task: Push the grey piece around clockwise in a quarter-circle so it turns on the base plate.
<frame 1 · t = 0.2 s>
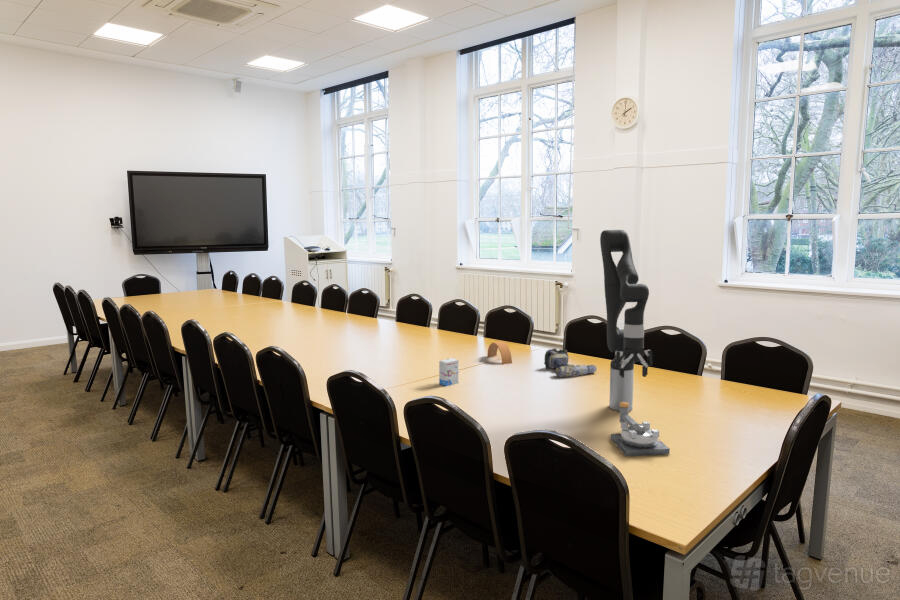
hand: (633, 376, 224), 17 cm above the table, tool pointing down, fingers open, 8 cm apart
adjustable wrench: (569, 463, 190), on the table
grey piece: (633, 423, 205), point 6 cm above the table, hinge at 0.0°
arch: (499, 360, 326), on the table
power drill: (565, 373, 298), on the table
ink box: (449, 384, 280), on the table
base plate: (638, 446, 201), on the table
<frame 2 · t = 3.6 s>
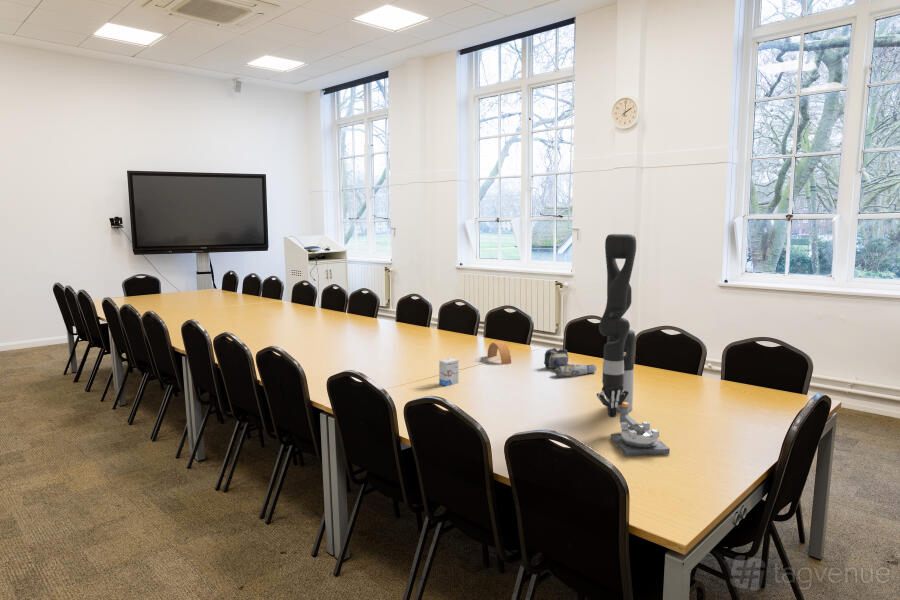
hand: (612, 416, 214), 6 cm above the table, tool pointing down, fingers closed
grey piece: (633, 423, 205), point 6 cm above the table, hinge at 0.1°, touching hand
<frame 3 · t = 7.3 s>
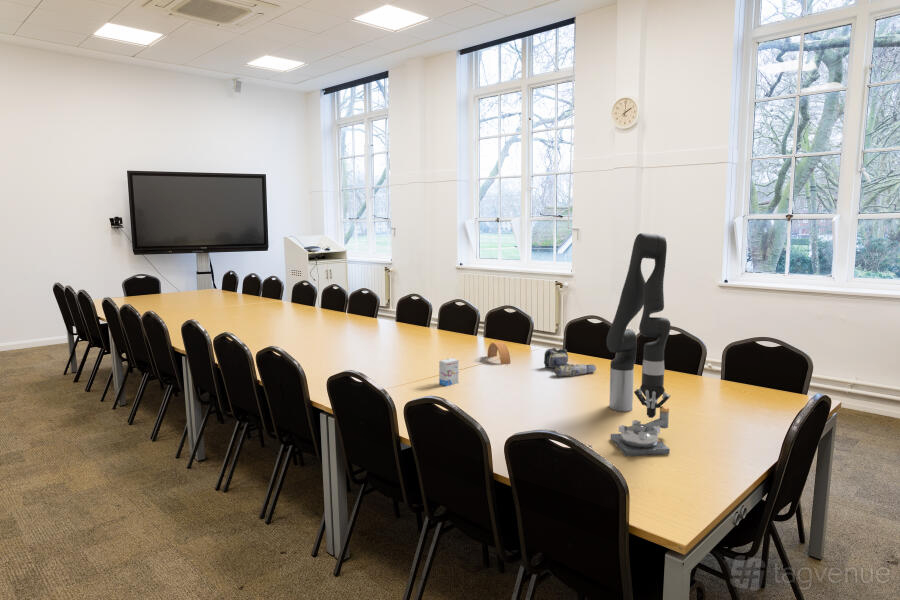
hand: (651, 417, 212), 6 cm above the table, tool pointing down, fingers closed
grey piece: (648, 425, 203), point 6 cm above the table, hinge at 55.6°, touching hand
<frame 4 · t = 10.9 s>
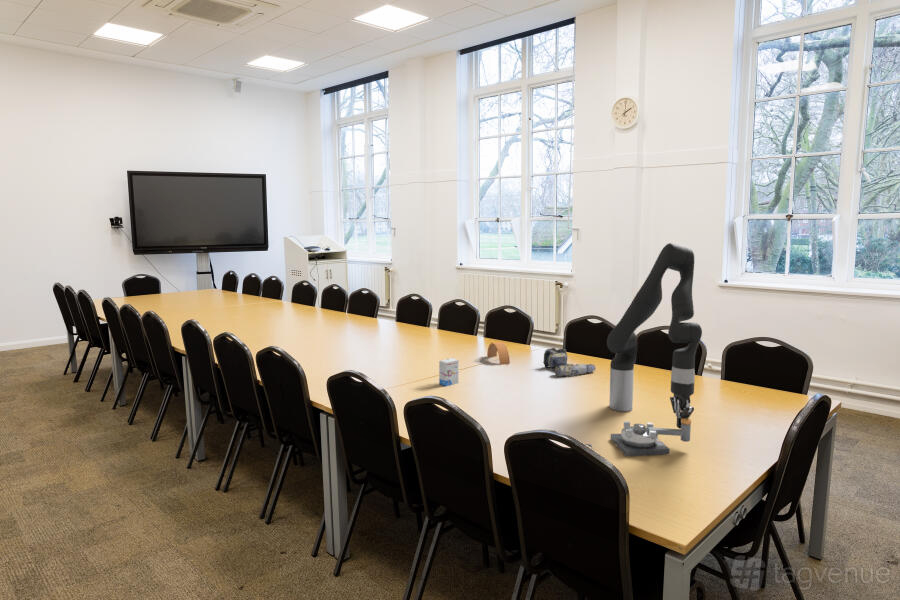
hand: (680, 427, 202), 6 cm above the table, tool pointing down, fingers closed
grey piece: (655, 429, 199), point 6 cm above the table, hinge at 105.8°, touching hand
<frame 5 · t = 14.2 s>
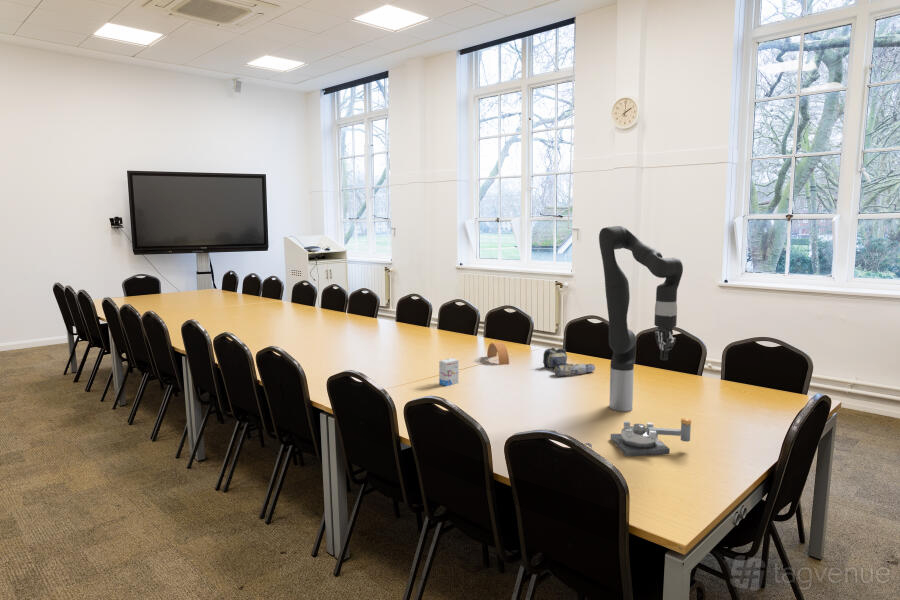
hand: (663, 359, 212), 27 cm above the table, tool pointing down, fingers closed
grey piece: (655, 429, 199), point 6 cm above the table, hinge at 105.8°
at the end: grey piece at +106° (first picture: +0°) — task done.
